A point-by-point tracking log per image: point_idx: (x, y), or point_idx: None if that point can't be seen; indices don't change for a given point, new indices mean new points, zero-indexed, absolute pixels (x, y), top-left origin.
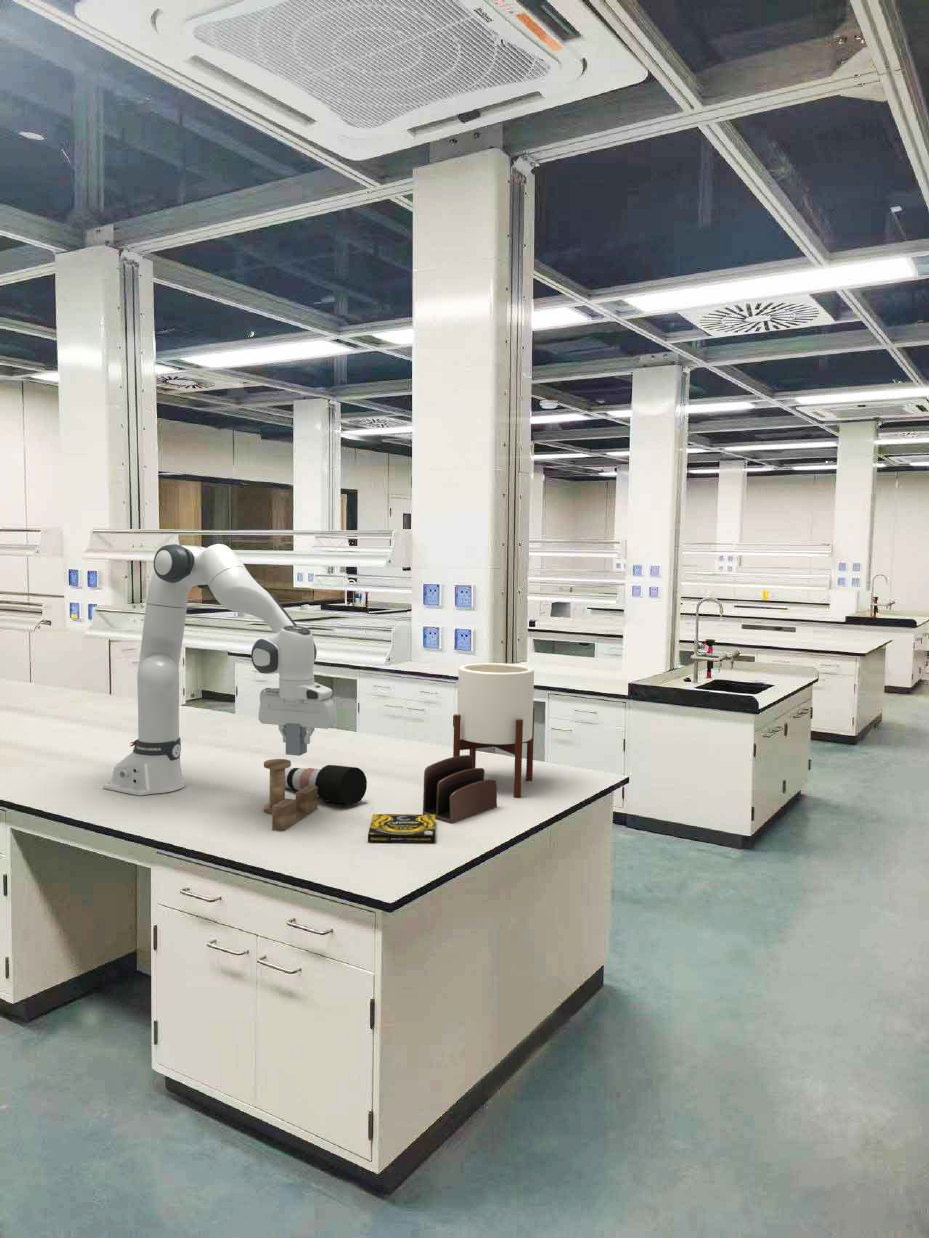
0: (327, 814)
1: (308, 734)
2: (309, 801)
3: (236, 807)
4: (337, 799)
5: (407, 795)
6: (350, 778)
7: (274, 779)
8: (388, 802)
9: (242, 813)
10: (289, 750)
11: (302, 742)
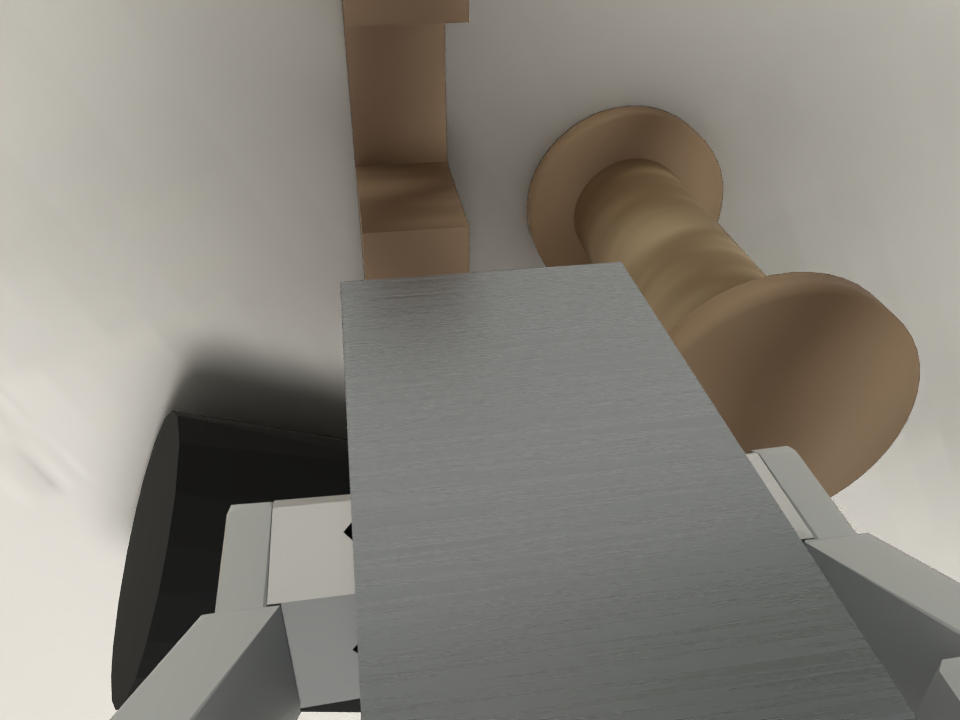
0: (231, 253)
1: (153, 694)
2: (363, 255)
3: (914, 146)
4: (239, 422)
5: (13, 705)
6: (146, 587)
7: (717, 265)
8: (21, 586)
9: (838, 37)
10: (565, 305)
11: (341, 504)
